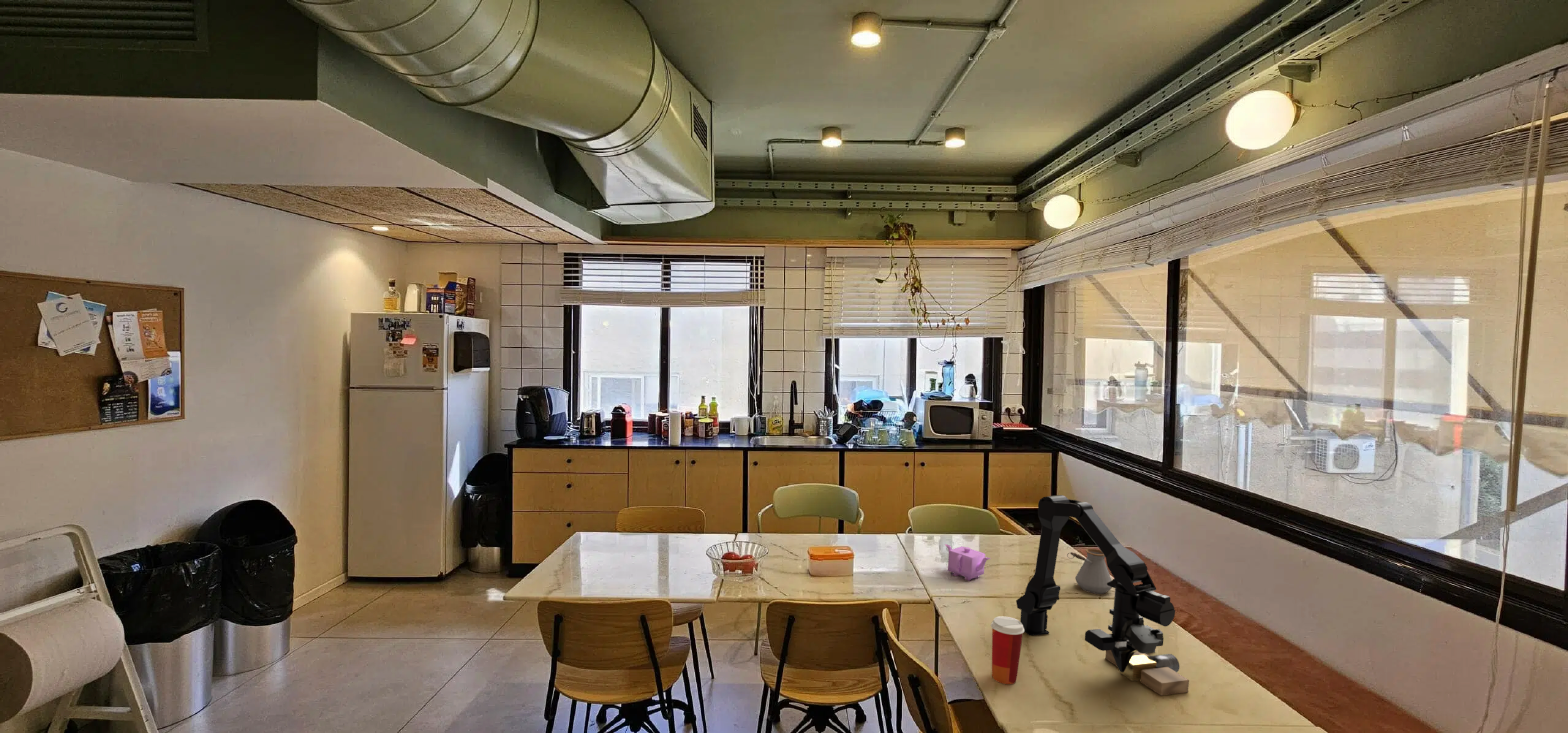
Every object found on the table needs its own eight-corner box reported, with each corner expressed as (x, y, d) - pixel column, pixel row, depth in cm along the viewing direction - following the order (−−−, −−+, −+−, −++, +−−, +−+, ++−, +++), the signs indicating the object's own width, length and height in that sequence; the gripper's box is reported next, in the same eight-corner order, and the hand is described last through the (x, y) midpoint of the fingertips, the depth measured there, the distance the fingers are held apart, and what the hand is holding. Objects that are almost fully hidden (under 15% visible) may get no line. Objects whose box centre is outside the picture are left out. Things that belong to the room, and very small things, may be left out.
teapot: (1000, 579, 230) (1002, 551, 229) (979, 588, 221) (981, 558, 220) (954, 563, 243) (956, 537, 243) (933, 571, 234) (935, 544, 234)
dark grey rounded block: (1155, 679, 166) (1157, 662, 166) (1141, 669, 171) (1144, 652, 170) (1178, 676, 168) (1180, 659, 168) (1163, 666, 173) (1166, 650, 172)
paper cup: (1013, 670, 167) (1017, 615, 166) (1025, 687, 159) (1029, 629, 158) (982, 669, 167) (986, 614, 166) (993, 686, 159) (997, 628, 158)
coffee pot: (1086, 580, 232) (1089, 538, 231) (1119, 592, 223) (1122, 547, 222) (1050, 592, 220) (1053, 547, 219) (1083, 605, 211) (1087, 558, 210)
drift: (1132, 681, 165) (1133, 665, 164) (1119, 672, 169) (1121, 657, 168) (1155, 678, 167) (1156, 662, 166) (1142, 670, 170) (1143, 654, 170)
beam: (1160, 695, 158) (1161, 683, 158) (1105, 658, 176) (1106, 647, 176) (1188, 692, 161) (1189, 679, 160) (1130, 655, 178) (1131, 644, 178)
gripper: (1119, 626, 155) (1113, 692, 156) (1184, 621, 160) (1178, 685, 161) (1085, 606, 166) (1080, 668, 167) (1147, 602, 171) (1142, 662, 171)
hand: (1121, 671), depth 166 cm, fingers closed
